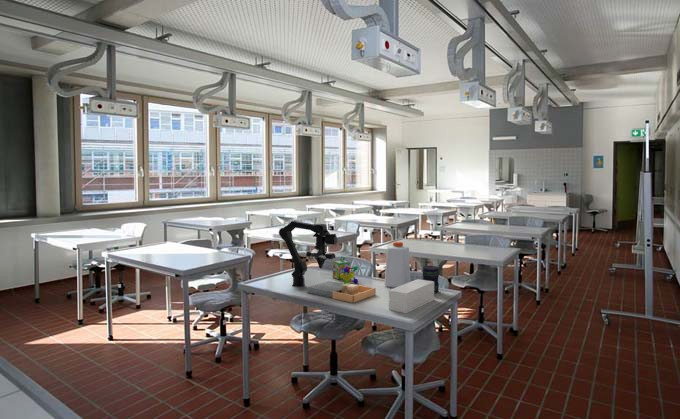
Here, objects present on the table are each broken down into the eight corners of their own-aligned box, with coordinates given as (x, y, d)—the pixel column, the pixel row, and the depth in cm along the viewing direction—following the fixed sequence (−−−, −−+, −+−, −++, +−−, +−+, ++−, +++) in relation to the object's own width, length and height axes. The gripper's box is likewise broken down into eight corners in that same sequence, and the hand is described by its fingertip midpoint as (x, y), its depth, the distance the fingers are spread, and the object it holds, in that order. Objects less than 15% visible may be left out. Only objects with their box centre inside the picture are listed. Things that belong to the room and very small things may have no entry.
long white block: (417, 297, 273) (417, 279, 272) (434, 300, 266) (434, 281, 265) (388, 310, 247) (388, 290, 247) (406, 313, 241) (406, 293, 240)
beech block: (341, 285, 274) (352, 287, 270) (347, 283, 279) (358, 285, 274) (341, 295, 275) (352, 297, 270) (347, 293, 280) (358, 295, 275)
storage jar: (438, 294, 278) (439, 269, 277) (422, 293, 280) (422, 268, 279) (438, 289, 288) (438, 266, 287) (422, 289, 290) (422, 265, 289)
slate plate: (307, 292, 282) (307, 286, 282) (328, 286, 298) (328, 280, 298) (333, 298, 270) (333, 292, 270) (353, 291, 286) (353, 285, 285)
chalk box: (332, 277, 323) (332, 256, 321) (343, 276, 327) (343, 255, 326) (338, 280, 315) (338, 258, 313) (350, 278, 319) (350, 257, 318)
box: (332, 298, 269) (332, 291, 269) (355, 290, 286) (355, 284, 286) (353, 303, 260) (353, 296, 259) (375, 294, 277) (375, 288, 277)
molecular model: (346, 286, 298) (346, 268, 297) (338, 284, 303) (339, 266, 303) (359, 283, 305) (359, 266, 305) (352, 281, 311) (352, 264, 310)
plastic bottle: (412, 284, 303) (412, 241, 301) (405, 289, 290) (406, 244, 287) (390, 281, 310) (390, 240, 307) (382, 286, 296) (382, 243, 294)
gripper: (301, 244, 291) (301, 269, 292) (326, 247, 281) (326, 272, 283) (311, 242, 300) (311, 266, 302) (335, 244, 291) (335, 269, 292)
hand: (320, 268), depth 294 cm, fingers closed
